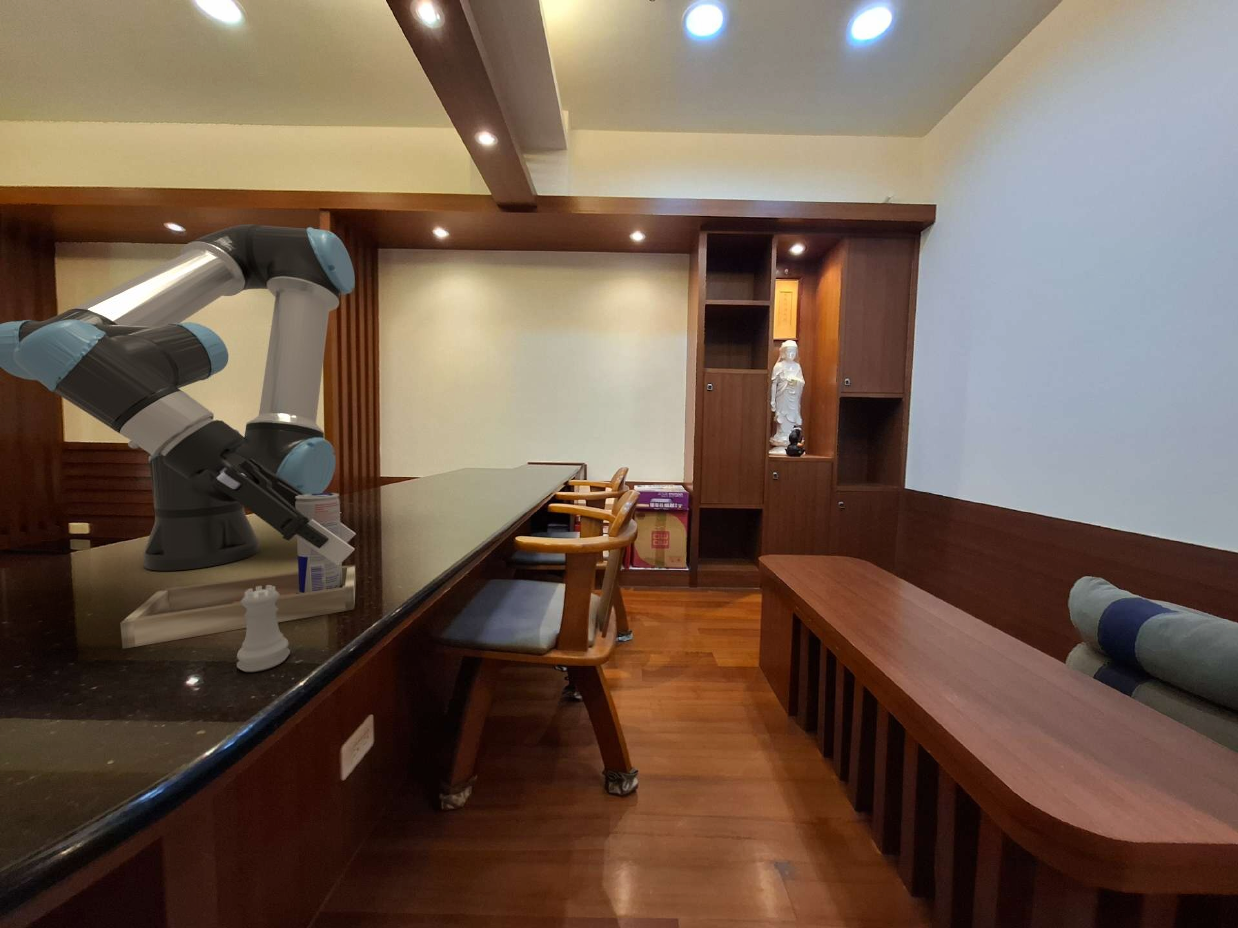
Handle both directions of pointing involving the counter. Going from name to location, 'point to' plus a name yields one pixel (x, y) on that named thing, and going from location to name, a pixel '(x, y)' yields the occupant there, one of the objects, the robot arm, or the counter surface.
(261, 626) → the rook chess piece
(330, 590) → the wooden serving tray
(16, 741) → the counter surface
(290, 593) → the pads
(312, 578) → the beverage can
